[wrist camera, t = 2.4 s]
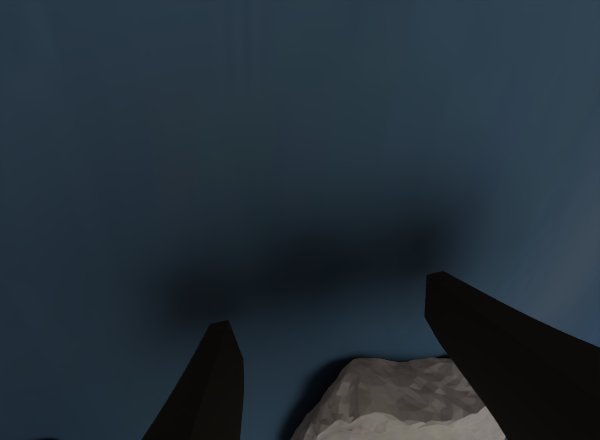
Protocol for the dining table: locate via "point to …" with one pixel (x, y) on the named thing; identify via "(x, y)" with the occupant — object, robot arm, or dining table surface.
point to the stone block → (399, 404)
